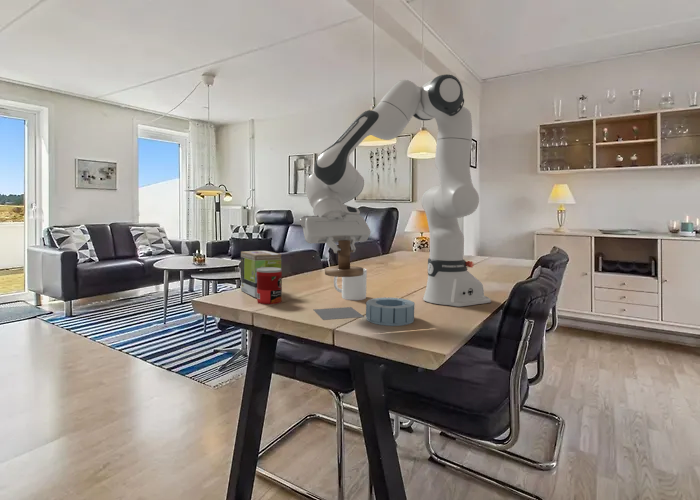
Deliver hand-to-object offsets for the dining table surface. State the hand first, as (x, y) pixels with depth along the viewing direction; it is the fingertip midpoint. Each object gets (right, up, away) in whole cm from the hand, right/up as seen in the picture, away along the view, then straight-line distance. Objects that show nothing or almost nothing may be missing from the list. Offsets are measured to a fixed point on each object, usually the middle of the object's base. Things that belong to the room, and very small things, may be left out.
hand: (345, 251), depth 118 cm
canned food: (-25, -17, +16) cm, 34 cm away
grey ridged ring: (+12, -19, -3) cm, 23 cm away
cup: (+1, -16, +25) cm, 30 cm away
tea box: (-31, -15, +31) cm, 46 cm away
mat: (-2, -18, +3) cm, 19 cm away
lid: (0, -6, +1) cm, 6 cm away
